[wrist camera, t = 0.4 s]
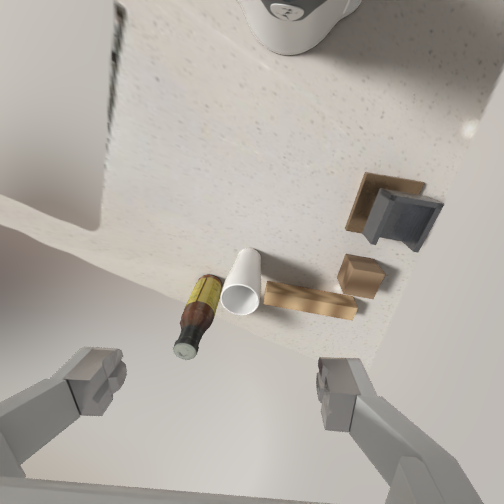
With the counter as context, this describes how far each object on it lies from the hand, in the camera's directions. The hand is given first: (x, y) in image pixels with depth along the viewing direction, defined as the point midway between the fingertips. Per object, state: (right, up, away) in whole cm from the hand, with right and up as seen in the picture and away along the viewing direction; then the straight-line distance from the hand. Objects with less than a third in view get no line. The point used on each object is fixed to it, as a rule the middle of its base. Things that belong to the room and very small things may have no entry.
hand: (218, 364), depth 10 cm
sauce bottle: (-8, -3, +48) cm, 49 cm away
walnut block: (+24, +1, +42) cm, 48 cm away
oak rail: (+15, -5, +46) cm, 49 cm away
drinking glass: (+1, +3, +43) cm, 44 cm away
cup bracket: (+26, +13, +35) cm, 46 cm away
